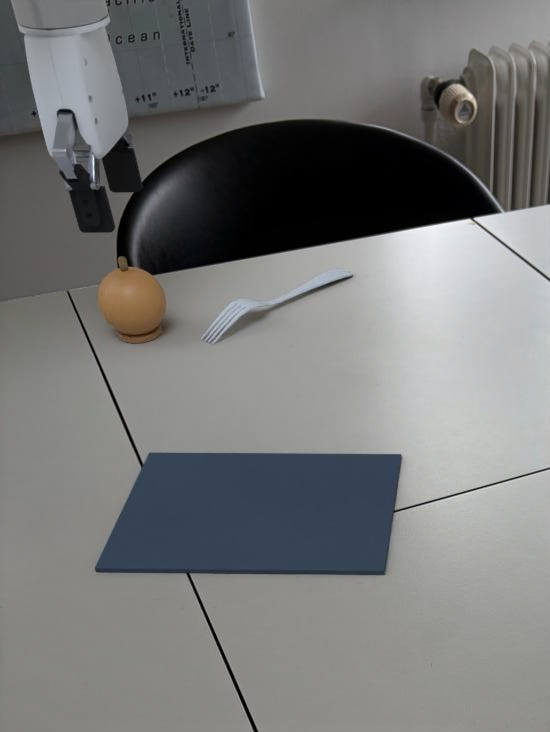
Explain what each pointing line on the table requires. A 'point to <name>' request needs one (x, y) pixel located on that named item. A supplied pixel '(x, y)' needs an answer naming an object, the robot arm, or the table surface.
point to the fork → (249, 304)
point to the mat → (256, 514)
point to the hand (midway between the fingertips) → (113, 210)
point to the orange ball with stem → (132, 303)
